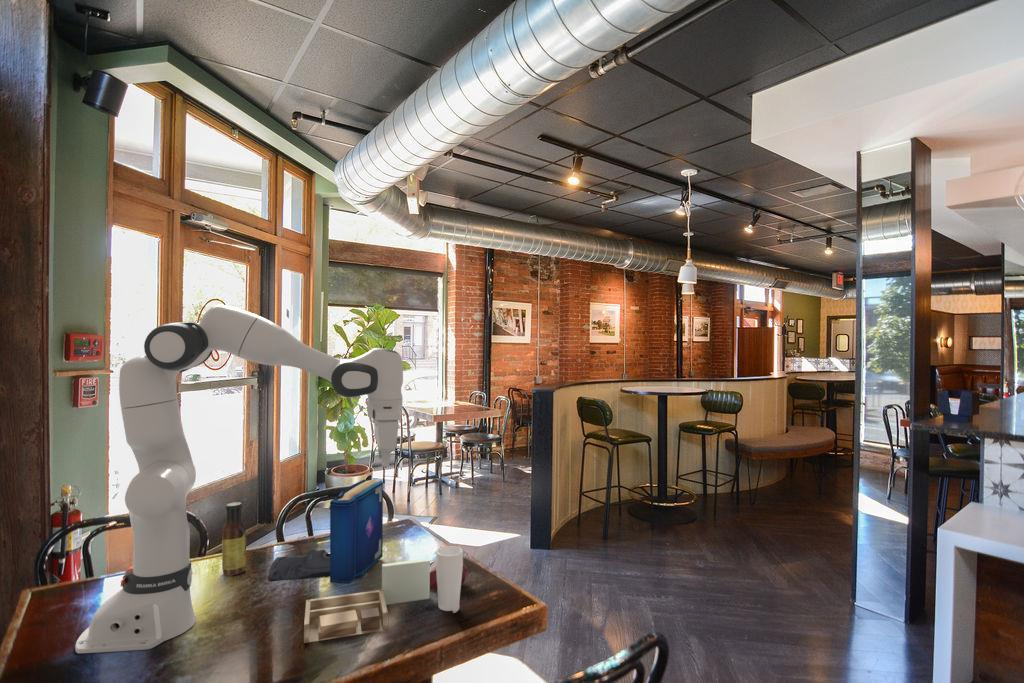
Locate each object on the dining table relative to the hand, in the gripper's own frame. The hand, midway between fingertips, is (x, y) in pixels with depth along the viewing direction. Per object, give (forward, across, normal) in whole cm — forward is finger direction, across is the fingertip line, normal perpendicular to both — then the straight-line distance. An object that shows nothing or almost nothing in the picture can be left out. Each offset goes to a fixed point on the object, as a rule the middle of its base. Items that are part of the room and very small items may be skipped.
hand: (383, 462), depth 139 cm
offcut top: (+34, +14, -11) cm, 38 cm away
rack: (+36, +11, -9) cm, 39 cm away
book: (+36, -20, -5) cm, 42 cm away
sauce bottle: (+37, -31, -39) cm, 62 cm away
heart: (+36, -4, +18) cm, 41 cm away
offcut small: (+35, +14, -4) cm, 38 cm away
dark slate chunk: (+37, -28, -18) cm, 50 cm away
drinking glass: (+36, +10, +16) cm, 41 cm away
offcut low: (+35, +14, -11) cm, 39 cm away
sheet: (+36, +4, +6) cm, 37 cm away
